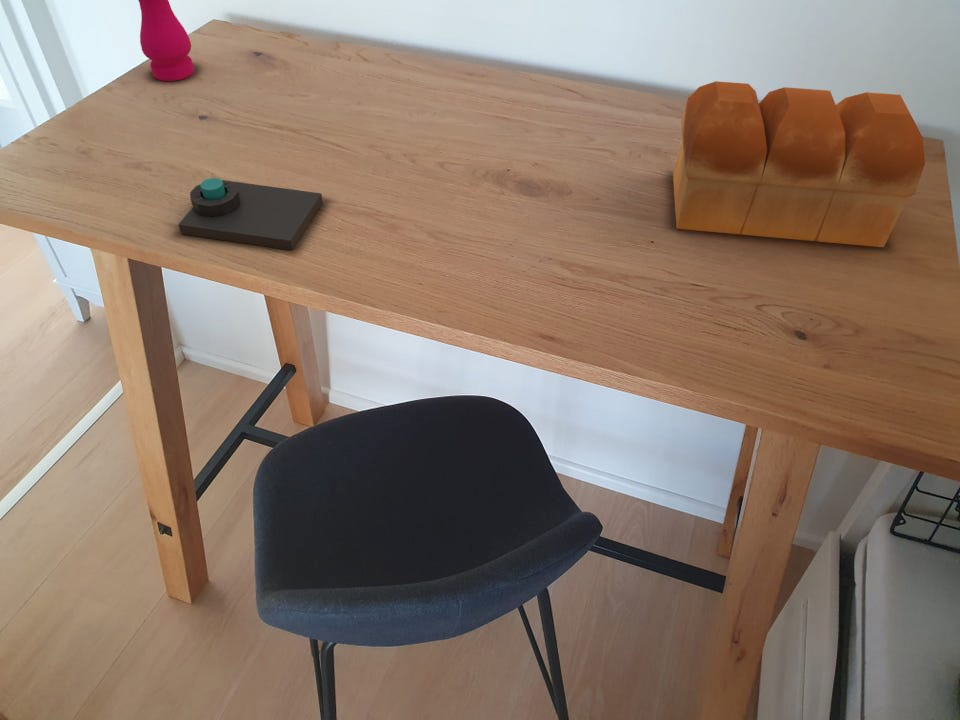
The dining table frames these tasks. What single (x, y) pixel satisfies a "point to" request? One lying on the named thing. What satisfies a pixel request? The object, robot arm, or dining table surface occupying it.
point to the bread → (795, 164)
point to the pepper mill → (164, 41)
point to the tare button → (212, 188)
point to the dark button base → (252, 215)
